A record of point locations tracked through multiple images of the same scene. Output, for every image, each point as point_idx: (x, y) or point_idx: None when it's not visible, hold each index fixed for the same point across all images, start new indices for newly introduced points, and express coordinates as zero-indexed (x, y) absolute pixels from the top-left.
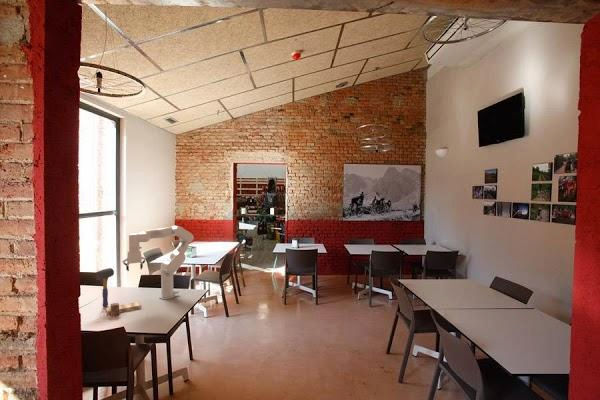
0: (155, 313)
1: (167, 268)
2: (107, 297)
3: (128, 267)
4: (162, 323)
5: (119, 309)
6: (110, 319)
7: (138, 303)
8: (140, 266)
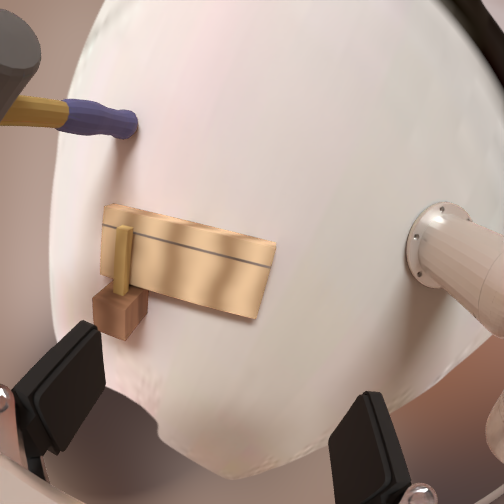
0: (268, 402)
1: (494, 453)
2: (110, 126)
3: (69, 435)
4: (241, 459)
5: (148, 289)
6: None
7: (257, 282)
8: (362, 448)
